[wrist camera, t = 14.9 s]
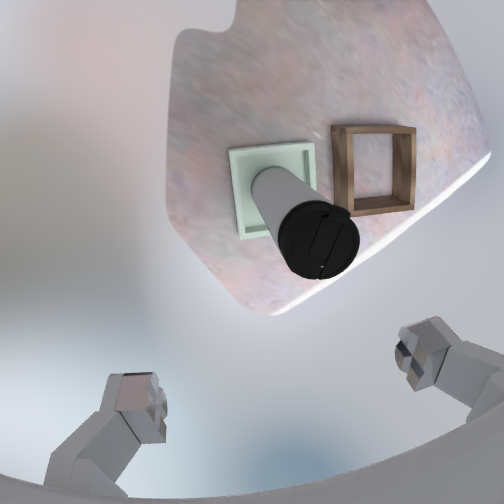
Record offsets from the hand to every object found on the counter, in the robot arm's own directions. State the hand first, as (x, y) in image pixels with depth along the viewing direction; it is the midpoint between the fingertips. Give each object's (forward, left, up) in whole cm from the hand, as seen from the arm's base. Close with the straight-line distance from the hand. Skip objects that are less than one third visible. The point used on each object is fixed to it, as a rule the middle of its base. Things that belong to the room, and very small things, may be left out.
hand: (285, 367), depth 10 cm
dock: (+3, +6, -34) cm, 35 cm away
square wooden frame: (+1, +20, -34) cm, 39 cm away
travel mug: (+3, +6, -34) cm, 34 cm away
